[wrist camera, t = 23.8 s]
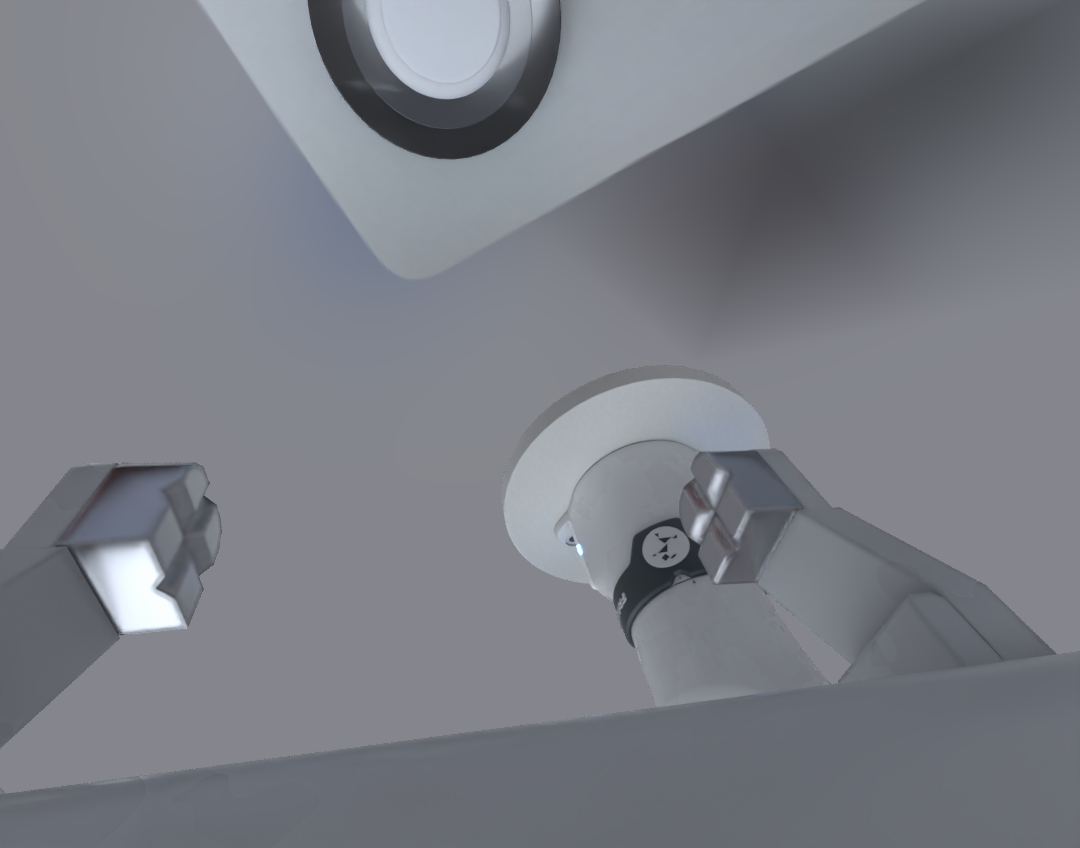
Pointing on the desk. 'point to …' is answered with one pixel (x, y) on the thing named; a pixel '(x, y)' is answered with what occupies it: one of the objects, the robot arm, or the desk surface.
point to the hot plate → (432, 120)
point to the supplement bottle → (441, 42)
